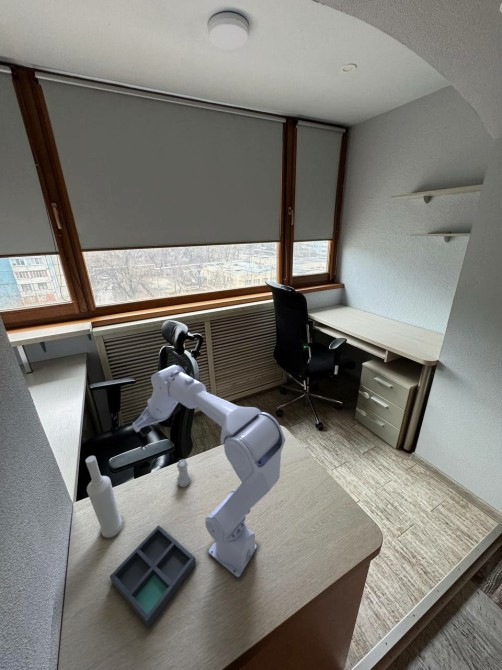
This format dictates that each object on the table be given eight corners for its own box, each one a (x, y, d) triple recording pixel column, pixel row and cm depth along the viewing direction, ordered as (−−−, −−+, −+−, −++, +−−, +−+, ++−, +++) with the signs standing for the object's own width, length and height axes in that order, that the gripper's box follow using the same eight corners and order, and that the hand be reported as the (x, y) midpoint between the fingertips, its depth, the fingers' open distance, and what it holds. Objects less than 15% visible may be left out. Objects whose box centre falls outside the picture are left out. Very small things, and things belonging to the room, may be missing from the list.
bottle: (114, 540, 69) (92, 470, 60) (97, 536, 70) (72, 466, 61) (126, 520, 74) (107, 452, 65) (110, 517, 75) (89, 449, 66)
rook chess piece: (193, 475, 87) (191, 457, 84) (189, 488, 83) (186, 469, 80) (180, 474, 88) (177, 456, 85) (175, 486, 84) (172, 468, 81)
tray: (196, 563, 65) (195, 557, 64) (148, 628, 54) (146, 621, 53) (159, 531, 71) (158, 524, 70) (111, 582, 61) (109, 576, 60)
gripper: (174, 375, 74) (165, 401, 82) (126, 405, 63) (121, 430, 72) (191, 393, 72) (180, 417, 81) (145, 427, 61) (138, 450, 70)
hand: (154, 425), depth 76 cm, fingers open, 7 cm apart
